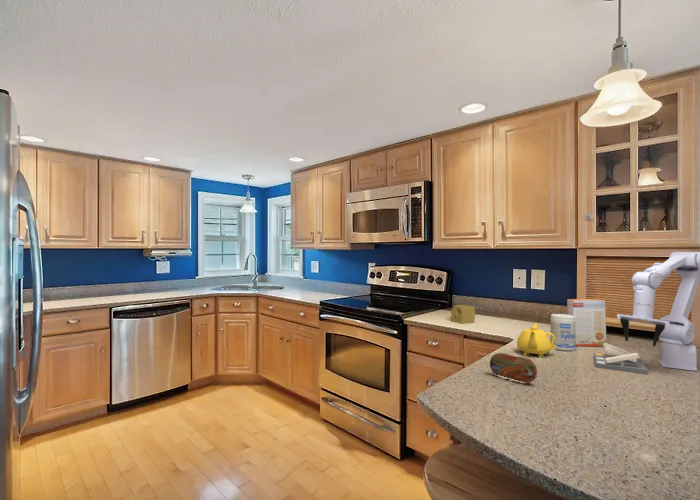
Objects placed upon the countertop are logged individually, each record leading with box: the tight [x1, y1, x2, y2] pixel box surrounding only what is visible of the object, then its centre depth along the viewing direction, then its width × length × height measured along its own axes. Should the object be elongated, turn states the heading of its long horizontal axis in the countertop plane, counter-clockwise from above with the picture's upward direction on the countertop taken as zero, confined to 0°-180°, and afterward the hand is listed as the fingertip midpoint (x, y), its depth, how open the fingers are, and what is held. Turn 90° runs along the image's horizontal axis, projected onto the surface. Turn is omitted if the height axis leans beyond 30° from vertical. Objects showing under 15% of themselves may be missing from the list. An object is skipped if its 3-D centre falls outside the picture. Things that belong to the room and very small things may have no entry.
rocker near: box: [605, 352, 641, 363], centre depth 131 cm, size 10×3×1 cm, turn 58°
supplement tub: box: [550, 313, 576, 352], centre depth 160 cm, size 10×10×15 cm
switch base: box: [593, 352, 649, 375], centre depth 136 cm, size 15×16×3 cm
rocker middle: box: [603, 346, 637, 363], centre depth 136 cm, size 10×3×1 cm, turn 58°
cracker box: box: [566, 298, 607, 348], centre depth 166 cm, size 14×6×21 cm, turn 84°
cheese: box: [449, 304, 476, 325], centre depth 222 cm, size 10×11×10 cm
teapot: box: [516, 322, 557, 358], centre depth 151 cm, size 20×15×12 cm
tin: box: [489, 352, 538, 385], centre depth 121 cm, size 15×3×8 cm, turn 40°
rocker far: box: [602, 342, 633, 354], centre depth 141 cm, size 10×3×1 cm, turn 58°
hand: (640, 343), depth 129 cm, fingers open, 7 cm apart
